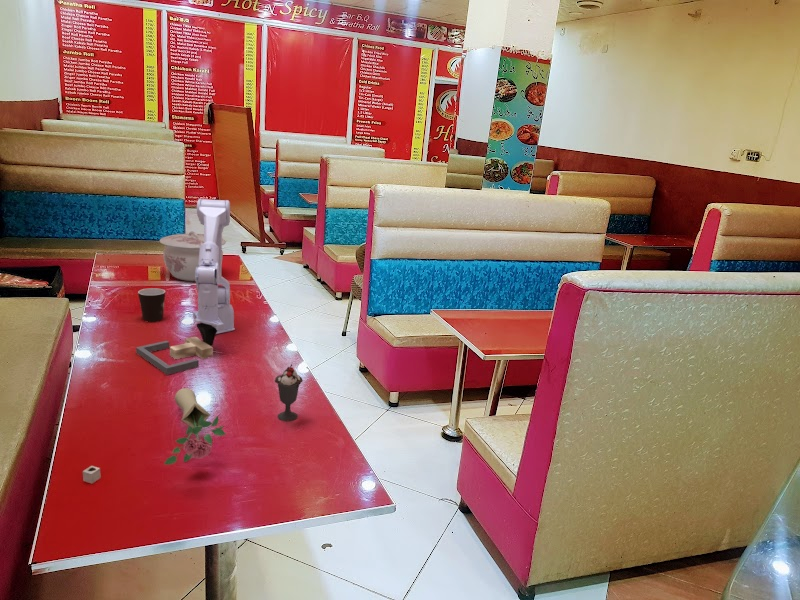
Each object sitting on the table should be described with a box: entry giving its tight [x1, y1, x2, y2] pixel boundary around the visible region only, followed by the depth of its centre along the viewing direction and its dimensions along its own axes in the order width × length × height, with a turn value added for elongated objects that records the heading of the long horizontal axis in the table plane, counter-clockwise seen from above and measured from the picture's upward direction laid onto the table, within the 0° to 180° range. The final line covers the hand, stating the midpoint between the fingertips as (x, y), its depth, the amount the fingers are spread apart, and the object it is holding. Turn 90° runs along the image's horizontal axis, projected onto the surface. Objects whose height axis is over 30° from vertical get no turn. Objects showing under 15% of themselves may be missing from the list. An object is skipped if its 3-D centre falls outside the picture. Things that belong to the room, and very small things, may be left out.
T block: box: [169, 336, 214, 360], centre depth 172 cm, size 10×11×3 cm
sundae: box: [274, 363, 304, 422], centre depth 139 cm, size 7×7×15 cm
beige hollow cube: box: [82, 465, 102, 484], centre depth 111 cm, size 2×2×2 cm
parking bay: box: [135, 340, 200, 376], centre depth 167 cm, size 10×19×2 cm, turn 48°
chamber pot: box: [159, 231, 227, 282], centre depth 249 cm, size 28×28×21 cm
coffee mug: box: [137, 287, 166, 323], centre depth 198 cm, size 12×9×10 cm
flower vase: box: [163, 387, 227, 466], centre depth 126 cm, size 12×12×35 cm
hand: (208, 345), depth 176 cm, fingers closed
